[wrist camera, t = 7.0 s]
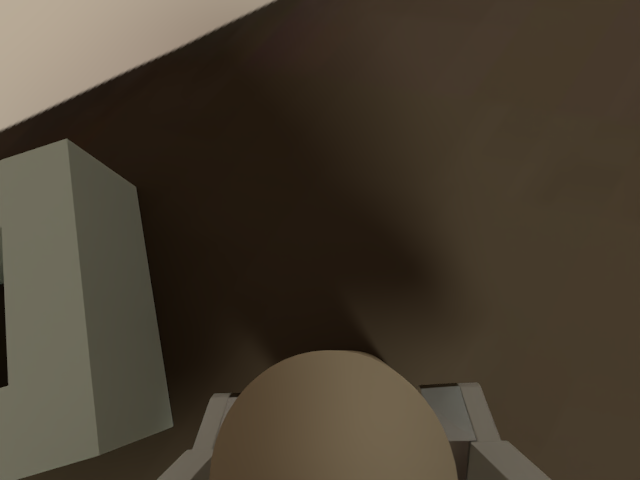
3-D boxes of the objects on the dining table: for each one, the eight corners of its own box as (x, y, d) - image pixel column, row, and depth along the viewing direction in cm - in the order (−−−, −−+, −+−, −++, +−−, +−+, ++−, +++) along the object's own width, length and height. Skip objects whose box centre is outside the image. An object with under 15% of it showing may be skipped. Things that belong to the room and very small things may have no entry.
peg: (384, 339, 17) (407, 322, 7) (415, 436, 16) (501, 593, 6) (297, 365, 18) (189, 386, 7) (322, 463, 16) (237, 665, 6)
